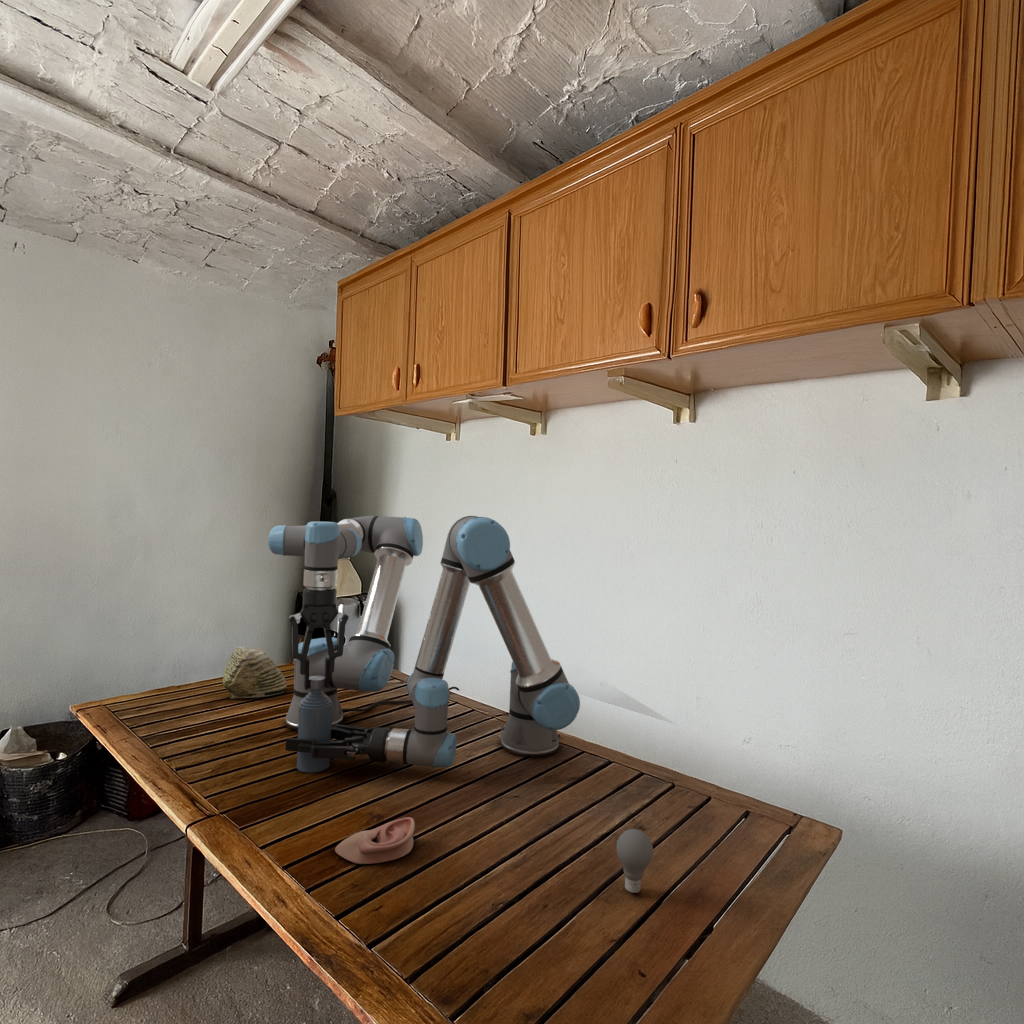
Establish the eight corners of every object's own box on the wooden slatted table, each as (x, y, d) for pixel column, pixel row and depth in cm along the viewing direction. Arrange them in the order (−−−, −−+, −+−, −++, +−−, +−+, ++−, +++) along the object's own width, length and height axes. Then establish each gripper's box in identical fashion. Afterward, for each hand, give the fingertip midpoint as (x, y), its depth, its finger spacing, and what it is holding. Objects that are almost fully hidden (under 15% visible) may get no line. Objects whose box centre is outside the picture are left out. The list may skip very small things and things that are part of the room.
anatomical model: (327, 836, 111) (356, 806, 122) (326, 858, 111) (355, 826, 122) (398, 848, 108) (421, 815, 119) (397, 871, 108) (420, 836, 119)
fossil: (218, 695, 195) (220, 647, 195) (278, 685, 208) (279, 640, 207) (228, 703, 189) (230, 653, 188) (289, 692, 201) (290, 645, 201)
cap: (318, 683, 151) (319, 674, 151) (328, 686, 149) (329, 678, 149) (303, 686, 148) (304, 677, 148) (314, 690, 146) (314, 681, 146)
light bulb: (610, 879, 108) (613, 822, 108) (644, 879, 109) (647, 822, 109) (619, 902, 102) (622, 840, 102) (655, 901, 103) (658, 840, 103)
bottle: (332, 769, 147) (335, 684, 147) (298, 774, 144) (301, 687, 143) (327, 757, 154) (330, 676, 153) (294, 761, 151) (297, 678, 150)
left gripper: (282, 590, 141) (278, 694, 142) (359, 589, 148) (355, 688, 148) (280, 585, 148) (277, 685, 149) (354, 584, 155) (350, 680, 155)
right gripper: (374, 780, 137) (273, 771, 139) (400, 744, 157) (311, 737, 159) (375, 746, 137) (274, 737, 139) (401, 714, 157) (312, 707, 159)
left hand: (316, 686), depth 148 cm, fingers closed on cap, 4 cm apart
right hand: (294, 737), depth 149 cm, fingers closed on bottle, 8 cm apart
